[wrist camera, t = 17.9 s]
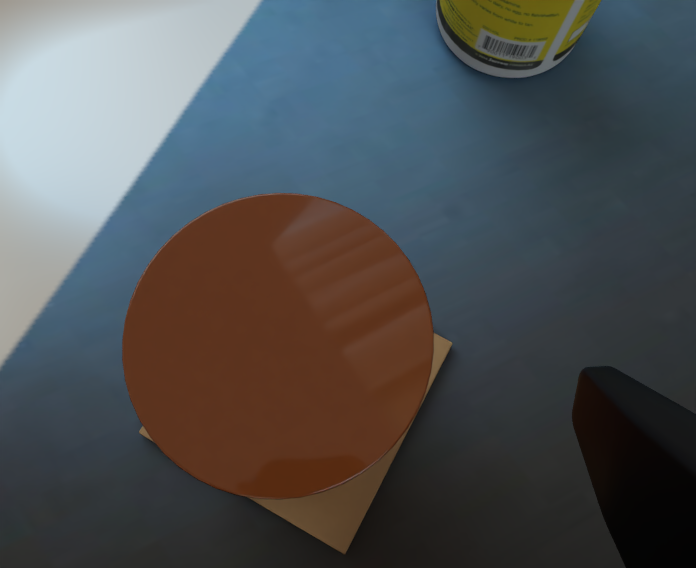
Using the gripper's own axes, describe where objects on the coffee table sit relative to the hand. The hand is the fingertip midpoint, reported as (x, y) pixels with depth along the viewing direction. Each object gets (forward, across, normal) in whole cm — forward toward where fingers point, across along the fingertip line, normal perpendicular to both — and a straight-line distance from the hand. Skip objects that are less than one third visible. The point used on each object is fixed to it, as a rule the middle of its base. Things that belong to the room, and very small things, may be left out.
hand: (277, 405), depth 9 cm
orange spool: (+10, 0, +8) cm, 13 cm away
